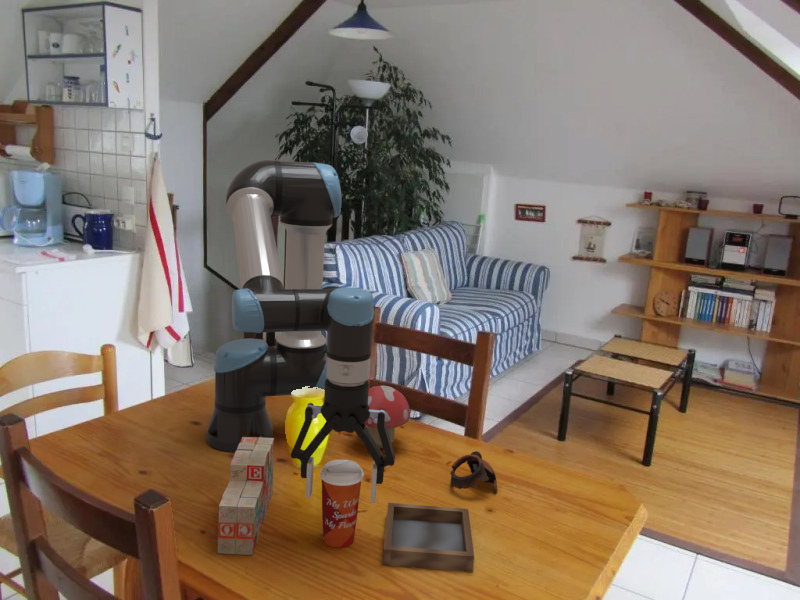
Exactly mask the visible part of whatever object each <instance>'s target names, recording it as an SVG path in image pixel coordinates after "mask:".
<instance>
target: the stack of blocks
mask: <svg viewBox="0 0 800 600" xmlns="http://www.w3.org/2000/svg"><path fill="white" fill-rule="evenodd" d="M274 451H275V438H274V437H272V438H262V437H259V438H258V437H242V439H241V442H240V443H239V445H238V448H237V450H236V452H234V455H233V458H232V460H231V462H230V473H229V475H230V476H229V482H228V484H227V486H226V487H225V490H224V492H223V494H222V496H221V500H220V502H219V503H218V504H219V505H218V523H217V554H224V555H225V554H226V555H244V556H252V555H254V553H255V549H256V545H257V544H258V540H259V537H260V534H261V532H262V529H263V523H264V521H265V517H266V514H267V510H268V509H269V507H270V503H271V500H272V497H273V494H274V491H273V490H274V462H275V459H274V457H275V456H274V454H275V453H274Z"/></svg>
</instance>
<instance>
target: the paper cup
mask: <svg viewBox="0 0 800 600" xmlns="http://www.w3.org/2000/svg"><path fill="white" fill-rule="evenodd" d="M364 474H365V473H364V471H363V468H362V467H361V465H359V463H357V462H355V461H353V460H350V459H332V460H330V461H328V462H326V463H325V464H324V465H323V466H322V469H321V471H320V472H319V477H320V479H321V513H322V514H321V518H322V519H321V520H322V540H323V543H324V544H325V545H327V546H329V547H331V548H334V549H342V548H346V547H350V545H352V544H353V543H354V541H355V540H354V539H355V533H356V527H357V520H358V519H357V518H358V513H359V512H358V511H359V503H360V495H361V494H360V493H361V485H362V481H363V479H364V477H365V475H364Z"/></svg>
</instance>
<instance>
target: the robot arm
mask: <svg viewBox="0 0 800 600" xmlns="http://www.w3.org/2000/svg"><path fill="white" fill-rule="evenodd" d="M341 189H342V188H341V184H340V179H339V175H338V173H337V171H336V169H335V168H334V167H333V166H332V165H330V164H327V163H320V162H314V161H313V162H308V161H307V162H305V161H284V160H280V161H279V160H273V159H272V160H268V159H267V160H260V161H256V162H254V163H253V162H252V163H251V164H249V165H248V166H246V167H245V168H242V169H241V171H239V172H238V173H237V175H236V176H235V177H234V178H233V179H232V181H231V182H230V184H229V186H228V188H227V192H226V196H225V204H226V205H225V206H226V212H227V215H228V217H229V218H230V220H231V221H232V222H233V228H234V229H233V230H234V240H235V247H236V257H237V265H238V274H239V281H240V283H239V284H240V289H236V290H235V289H234V291H233V292H232V296H231V323H232V327H233V330H235V331H236V332H239V333H255V334H261V333H280V334H279V335H278V336H277V337H276V340H275V341H276V343H275V344H276V345H273V346H272V345H271V346H269V345H268V343H267V341H266V340H264V339H260V338H256V339H255V338H251V337H250V338H241V339H240V338H239V339H236V340H231V341H229V342H227V343H224V344H222V345H221V346H219V347H218V349H217V350H216V352H215V360H214V366H213V371H214V408H213V412H212V414H211V416H210V420H209V423H208V425H207V428H206V442H207V444H208V445H209V446H211V447H212V448H214V449H216V450H220V451H222V452H223V451H224V452H231V453H235V452H236V450H237V448H238V445H239V443H240V442H241V439H242V437H258V438H259V437H262V438H273V434H274V433H273V431H274V429H273V425H272V422H271V419H270V416H269V413H268V409H267V397H281V396H285V397H286V396H292V395H291V392H292V391H293V390H296V389H302V387H305V386H310V387H308V388H313V387H318V388H321V389H324V390H325V391H324V397H323V400H324V401H323V404H322V405H314V403H312V402H309V403H308V404H307V405H306V407H305V410H304V420H303V424H302V426H301V429H300V430H299V433H298V436H297V438H296V441H295V443H294V445H293V448H292V450H291V452H290V458H291V459H294V460H295V459H297V460H299V462H300V478H301V479H306V480H305V481H306V483H305V498H306V499H310V498H311V496H312V493H313V489H314V488H313V486H314V485H313V484H314V481H313V480H314V461H315V460H314V459H315V458H314V456H313V454H314V453H315V452H316V451H317V449H318V448H319V446H320V445H321V444H322V443H323V442H324V441H325V439H326V437H328V436H329V434H330V433H331V432H332V431H334V432H335V433H343V432H346V433H350V434H351V433H352V434H353V433H356V435H357V437H358V438H359V439H360V440H361V442H362V443H363V445H364V448H365V449H366V451H367V452H368V453H369V455H370V457H371V459H372V460H373V463H372V464H373V465H372V473H371V474H372V475H371V488H370V489H371V490H370V491H371V492H370V503H372V504H375V503H376V496H377V484H378V485H382V484H383V483H384V476H385V475H384V474H385V473H384V472H385V468H386V467H387V466H390V467H393V466H394V465H395V461H396V460H395V459H396V455H395V451H394V447H393V443H391V441H390V437H389V434H388V430H387V427H386V423H385V409H384V408H381V409H379V410H370V408H369V406H368V393H369V388H370V383H369V381H368V380H369V379H370V374H371V373H370V372H371V359H372V356H371V355H372V353H371V352H372V342H373V341H372V339H373V327H374V325H373V323H374V316H375V309H374V305H375V304H374V296H373V293H372V292H370V291H369V290H367V289H363V288H357V287H342V286H339V285H336V284H325V285H324V284H323V283H324V262H325V261H324V260H325V242H326V240H325V239H326V238H325V237H326V232H327V231H328V230H329V229H330V228H331V227H332V226H333V218H337V217H339V216H340V214H341V208H342V204H343V203H342V190H341ZM272 215H273V216H274V215H275V216H278V215H279V216H280V217H279V224H280V225H281V226H282V227H283V228H284V229H285V230H286V240H285V241H286V244H285V246H286V247H285V269H284V270H285V271H284V272H285V273H284V275H285V276H284V281H283V276H282V270H281V265H280V260H279V255H278V249H277V243H276V237H275V232H274V228H273V222H272ZM321 332H326V336H324V335H323V334H322V333H321ZM316 389H317V388H316ZM319 414H321V416H322V417H323V418H324V419H325V422H324V424H323V426H322V428H320V429H319V430H318V432H317V433H316V434H315V436H314V438H313V439H312V440H311V442H310V443H309V444H308V445H307V447H306V448H305V449H302V447H303V444H304V441H305V439H306V437H307V434H308V431H309V430H310V428H311V424H312V422H313V420H314V419H317V418H318V416H319ZM369 417H371V418H372V419H373V422H374V423H377V428H378V432H379V436H380V439H381V442H382V446H383V448H382V449H383V453H384V455H383V454H382V452H381V450H380V448H378V446H377V445H376V443H375V441H374V440H373V438H372V436H371V435H370V433H369V431H368V429H367V426H366V425H365V423H364V422H365V421H366V420H367V419H368V418H369Z"/></svg>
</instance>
